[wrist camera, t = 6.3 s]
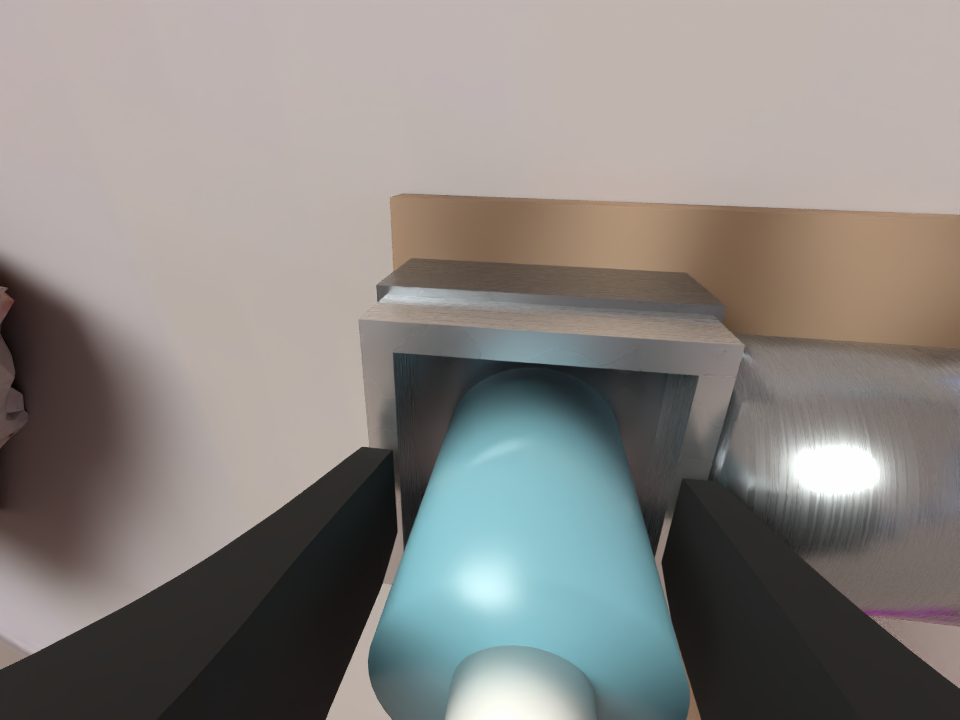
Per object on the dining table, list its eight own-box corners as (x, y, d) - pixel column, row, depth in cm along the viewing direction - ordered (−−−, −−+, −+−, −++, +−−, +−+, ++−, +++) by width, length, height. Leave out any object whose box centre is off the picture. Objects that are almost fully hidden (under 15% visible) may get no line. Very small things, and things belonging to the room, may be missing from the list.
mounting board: (1008, 216, 11) (1057, 223, 10) (773, 715, 19) (787, 748, 18) (403, 193, 13) (390, 197, 12) (421, 663, 21) (414, 691, 20)
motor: (1008, 290, 11) (1422, 410, 6) (892, 522, 14) (1098, 741, 9) (411, 258, 12) (316, 330, 7) (418, 473, 15) (354, 634, 10)
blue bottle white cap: (655, 412, 10) (810, 773, 4) (570, 535, 12) (596, 917, 6) (487, 338, 10) (402, 610, 4) (424, 474, 12) (301, 806, 6)
